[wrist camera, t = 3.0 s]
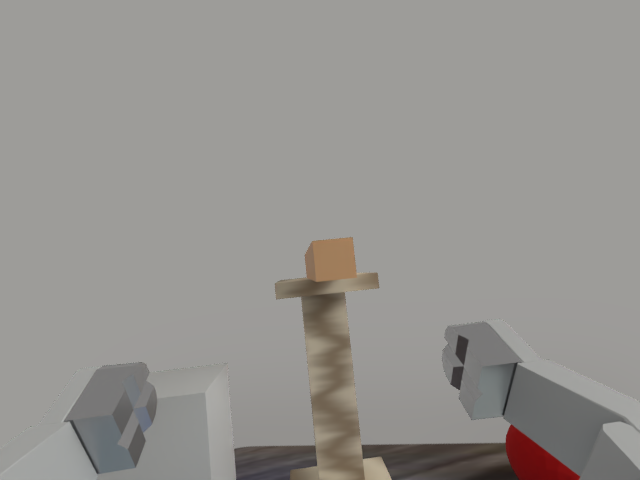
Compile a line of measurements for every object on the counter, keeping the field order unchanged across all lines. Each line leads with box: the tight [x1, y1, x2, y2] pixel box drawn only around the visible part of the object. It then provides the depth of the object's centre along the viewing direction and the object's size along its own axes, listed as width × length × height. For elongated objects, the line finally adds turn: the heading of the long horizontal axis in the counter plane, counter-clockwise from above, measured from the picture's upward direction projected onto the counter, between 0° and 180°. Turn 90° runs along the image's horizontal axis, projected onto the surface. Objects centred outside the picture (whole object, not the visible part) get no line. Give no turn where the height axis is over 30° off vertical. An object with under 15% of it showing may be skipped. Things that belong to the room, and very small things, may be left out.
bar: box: [305, 237, 357, 282], centre depth 35 cm, size 3×20×3 cm, turn 4°
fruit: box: [506, 424, 580, 480], centre depth 37 cm, size 9×9×10 cm
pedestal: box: [96, 363, 236, 480], centre depth 34 cm, size 10×10×17 cm
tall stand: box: [275, 273, 392, 480], centre depth 39 cm, size 12×14×26 cm
